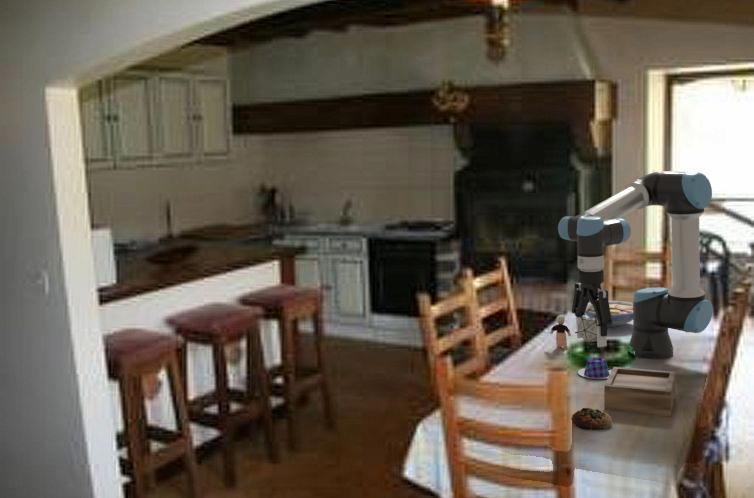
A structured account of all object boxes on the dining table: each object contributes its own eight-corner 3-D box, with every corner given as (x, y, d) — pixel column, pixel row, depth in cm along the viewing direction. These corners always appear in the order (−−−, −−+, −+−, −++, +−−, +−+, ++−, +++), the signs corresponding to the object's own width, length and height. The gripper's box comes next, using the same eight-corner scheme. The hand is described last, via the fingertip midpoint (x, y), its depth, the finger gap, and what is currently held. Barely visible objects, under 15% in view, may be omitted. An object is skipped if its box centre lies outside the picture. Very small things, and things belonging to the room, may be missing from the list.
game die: (597, 355, 232) (608, 335, 225) (569, 345, 233) (580, 324, 226) (601, 334, 238) (612, 313, 231) (574, 325, 239) (585, 303, 232)
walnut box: (613, 388, 241) (613, 366, 240) (675, 394, 234) (675, 371, 232) (604, 409, 225) (604, 385, 224) (670, 416, 217) (670, 391, 216)
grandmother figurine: (571, 347, 286) (571, 314, 284) (571, 350, 283) (570, 316, 280) (550, 346, 289) (550, 313, 287) (549, 349, 285) (549, 315, 283)
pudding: (605, 367, 263) (605, 352, 262) (622, 378, 251) (622, 363, 250) (571, 371, 261) (571, 356, 260) (587, 382, 249) (587, 367, 248)
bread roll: (567, 428, 213) (568, 410, 213) (575, 418, 223) (575, 401, 223) (609, 434, 209) (610, 416, 208) (614, 424, 219) (615, 407, 218)
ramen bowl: (631, 335, 297) (631, 314, 296) (573, 329, 309) (573, 309, 308) (648, 320, 317) (648, 300, 316) (593, 314, 330) (593, 296, 329)
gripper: (559, 264, 238) (560, 334, 242) (602, 277, 217) (603, 353, 221) (580, 261, 241) (581, 331, 244) (624, 274, 220) (625, 349, 223)
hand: (591, 341), depth 233 cm, fingers closed on game die, 10 cm apart
